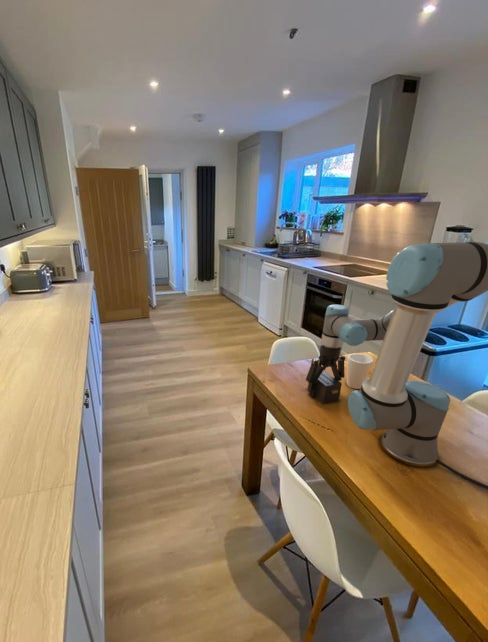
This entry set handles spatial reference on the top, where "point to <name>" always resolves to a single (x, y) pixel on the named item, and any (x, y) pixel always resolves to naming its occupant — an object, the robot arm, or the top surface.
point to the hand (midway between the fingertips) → (322, 394)
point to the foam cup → (357, 369)
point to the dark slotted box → (327, 388)
